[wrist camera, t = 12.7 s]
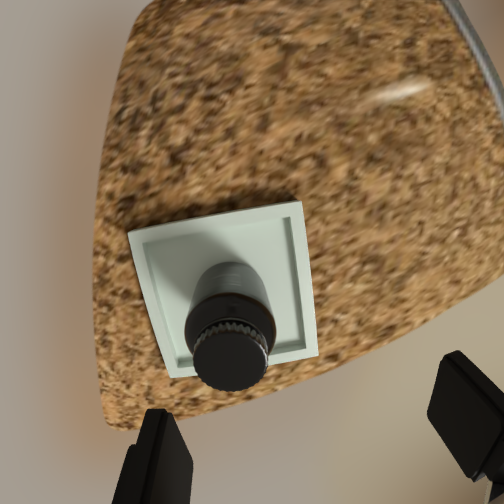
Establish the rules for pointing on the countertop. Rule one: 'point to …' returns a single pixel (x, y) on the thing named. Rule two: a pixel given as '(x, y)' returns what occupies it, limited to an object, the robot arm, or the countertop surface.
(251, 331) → the supplement bottle
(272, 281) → the sage tray
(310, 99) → the countertop surface
